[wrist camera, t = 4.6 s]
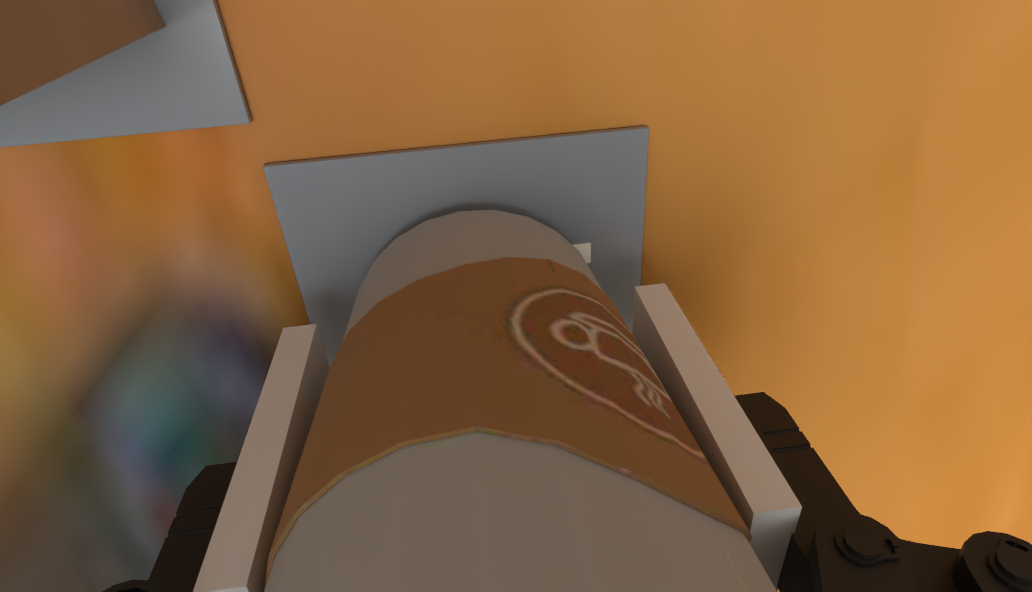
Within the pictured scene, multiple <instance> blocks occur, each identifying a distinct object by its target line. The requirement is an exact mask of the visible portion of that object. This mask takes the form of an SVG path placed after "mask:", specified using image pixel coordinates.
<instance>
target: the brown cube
mask: <svg viewBox="0 0 1032 592" xmlns="http://www.w3.org/2000/svg"><path fill="white" fill-rule="evenodd" d="M164 27H166V25H165V23H164V21H163V19H162V17H161V15H160V13H159V11H158V9H157V7H156V5H155V3H154V2H153V0H0V106H1V105H3V104H5V103H8V102H10V101H12V100H14V99H16V98H18V97H20V96H22V95H24V94H26V93H28V92H30V91H33V90H35V89H37V88H39V87H41V86H43V85H45V84H47V83H49V82H51V81H53V80H55V79H58V78H60V77H62V76H64V75H66V74H68V73H70V72H72V71H74V70H76V69H78V68H80V67H83V66H85V65H87V64H89V63H91V62H93V61H95V60H97V59H99V58H101V57H103V56H105V55H108V54H110V53H112V52H114V51H116V50H118V49H120V48H122V47H124V46H126V45H128V44H130V43H133V42H135V41H137V40H139V39H141V38H143V37H145V36H147V35H149V34H151V33H153V32H155V31H158V30H160V29H162V28H164Z"/></svg>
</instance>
